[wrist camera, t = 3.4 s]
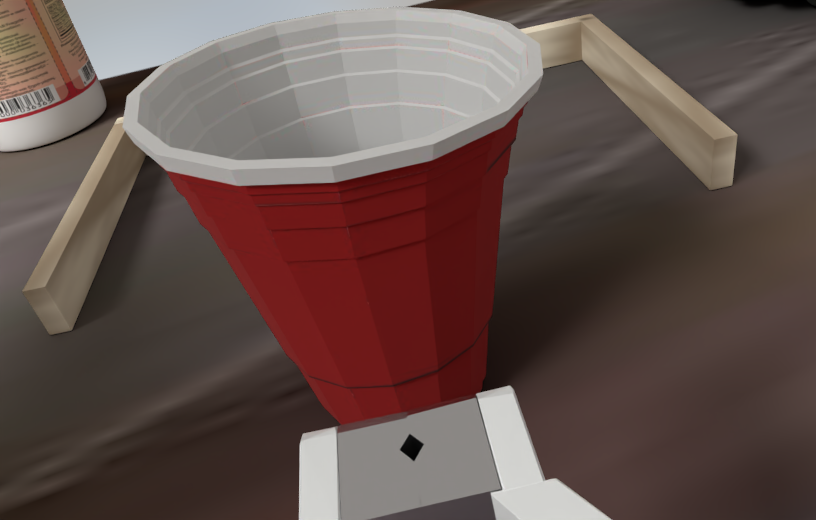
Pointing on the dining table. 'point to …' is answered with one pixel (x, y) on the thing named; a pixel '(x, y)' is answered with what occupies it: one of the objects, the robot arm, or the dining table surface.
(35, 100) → the fruit juice
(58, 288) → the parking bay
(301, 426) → the dining table surface
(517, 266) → the dining table surface
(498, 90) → the plastic cup
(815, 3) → the squash
